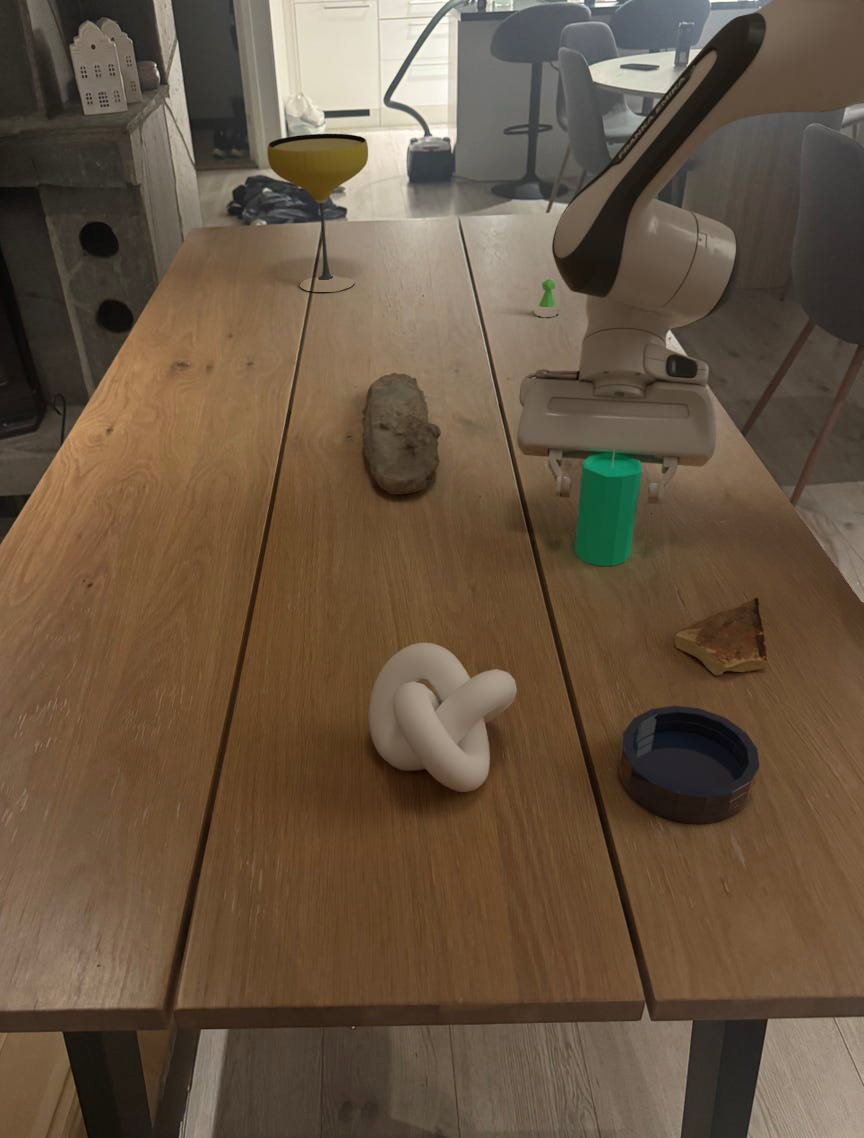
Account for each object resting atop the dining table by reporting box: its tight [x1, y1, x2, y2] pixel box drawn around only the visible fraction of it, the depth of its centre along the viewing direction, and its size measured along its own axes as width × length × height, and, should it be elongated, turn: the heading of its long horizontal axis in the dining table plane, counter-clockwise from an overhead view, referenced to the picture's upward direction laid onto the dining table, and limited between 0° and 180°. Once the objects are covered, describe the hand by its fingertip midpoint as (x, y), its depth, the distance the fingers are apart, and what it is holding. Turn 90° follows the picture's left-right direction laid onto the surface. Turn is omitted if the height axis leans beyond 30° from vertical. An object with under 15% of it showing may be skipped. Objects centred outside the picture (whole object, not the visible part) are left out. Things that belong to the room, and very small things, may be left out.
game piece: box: [538, 278, 556, 307], centre depth 166 cm, size 4×4×6 cm
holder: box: [618, 705, 760, 825], centre depth 76 cm, size 10×10×3 cm
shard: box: [674, 597, 769, 676], centre depth 89 cm, size 11×8×2 cm
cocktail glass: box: [267, 133, 369, 280], centre depth 179 cm, size 18×18×25 cm
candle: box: [574, 450, 643, 567], centre depth 101 cm, size 6×6×12 cm
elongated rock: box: [361, 372, 442, 495], centre depth 127 cm, size 35×5×10 cm
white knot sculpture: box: [368, 642, 518, 793], centre depth 77 cm, size 11×12×9 cm
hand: (608, 499), depth 100 cm, fingers open, 8 cm apart
